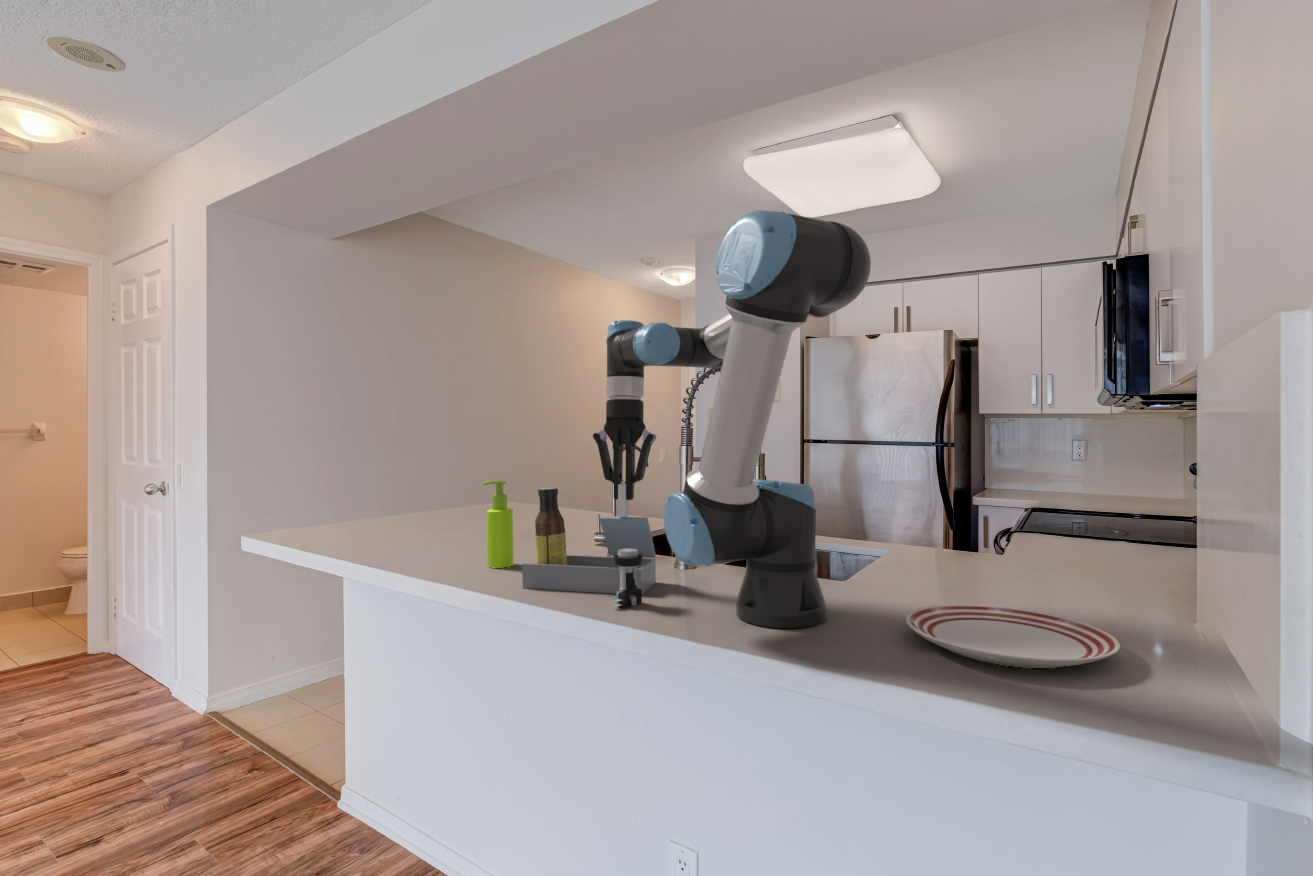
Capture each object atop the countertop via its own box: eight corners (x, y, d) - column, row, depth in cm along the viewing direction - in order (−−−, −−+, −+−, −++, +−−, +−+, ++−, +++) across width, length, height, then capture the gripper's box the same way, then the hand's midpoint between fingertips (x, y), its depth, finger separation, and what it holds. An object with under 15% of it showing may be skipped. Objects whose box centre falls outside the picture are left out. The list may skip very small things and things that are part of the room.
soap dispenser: (481, 565, 156) (479, 480, 155) (510, 562, 159) (509, 479, 158) (485, 570, 150) (484, 482, 150) (515, 567, 153) (514, 480, 153)
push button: (624, 612, 116) (624, 555, 115) (602, 607, 119) (602, 552, 119) (649, 604, 121) (648, 549, 121) (627, 599, 124) (626, 546, 124)
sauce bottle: (570, 579, 140) (569, 486, 140) (563, 586, 134) (562, 489, 134) (540, 579, 141) (539, 486, 141) (532, 586, 135) (530, 489, 134)
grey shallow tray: (655, 582, 137) (655, 558, 137) (641, 595, 127) (641, 569, 127) (544, 576, 144) (544, 553, 144) (522, 588, 134) (522, 563, 133)
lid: (655, 557, 137) (655, 555, 137) (646, 519, 131) (647, 517, 131) (609, 555, 139) (610, 553, 140) (599, 518, 134) (600, 516, 134)
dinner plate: (936, 610, 116) (936, 591, 116) (1128, 642, 98) (1128, 620, 98) (877, 654, 95) (877, 630, 95) (1108, 704, 77) (1109, 675, 77)
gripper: (661, 400, 135) (659, 515, 135) (600, 400, 138) (599, 512, 138) (651, 398, 128) (649, 520, 128) (587, 398, 131) (586, 516, 131)
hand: (623, 516), depth 133 cm, fingers closed
